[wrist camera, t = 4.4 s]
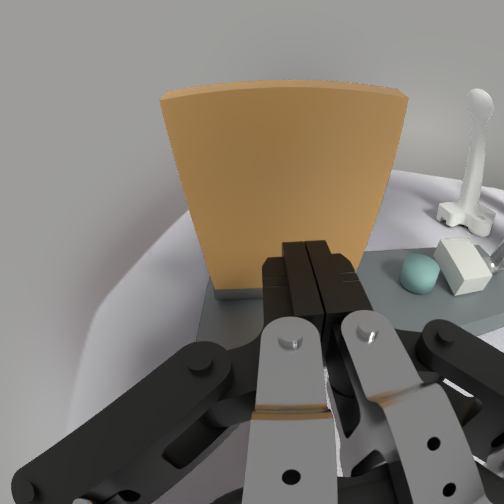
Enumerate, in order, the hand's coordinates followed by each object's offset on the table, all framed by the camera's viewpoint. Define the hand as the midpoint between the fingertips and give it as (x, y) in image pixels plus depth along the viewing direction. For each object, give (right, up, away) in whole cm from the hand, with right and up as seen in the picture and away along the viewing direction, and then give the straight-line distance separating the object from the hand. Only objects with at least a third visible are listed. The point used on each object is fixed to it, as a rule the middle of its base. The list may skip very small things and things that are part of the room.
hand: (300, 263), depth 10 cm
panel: (+9, -4, +10) cm, 14 cm away
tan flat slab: (0, -2, +9) cm, 9 cm away
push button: (+11, -2, +9) cm, 14 cm away
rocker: (+15, -1, +8) cm, 17 cm away
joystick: (+30, +4, +20) cm, 36 cm away
